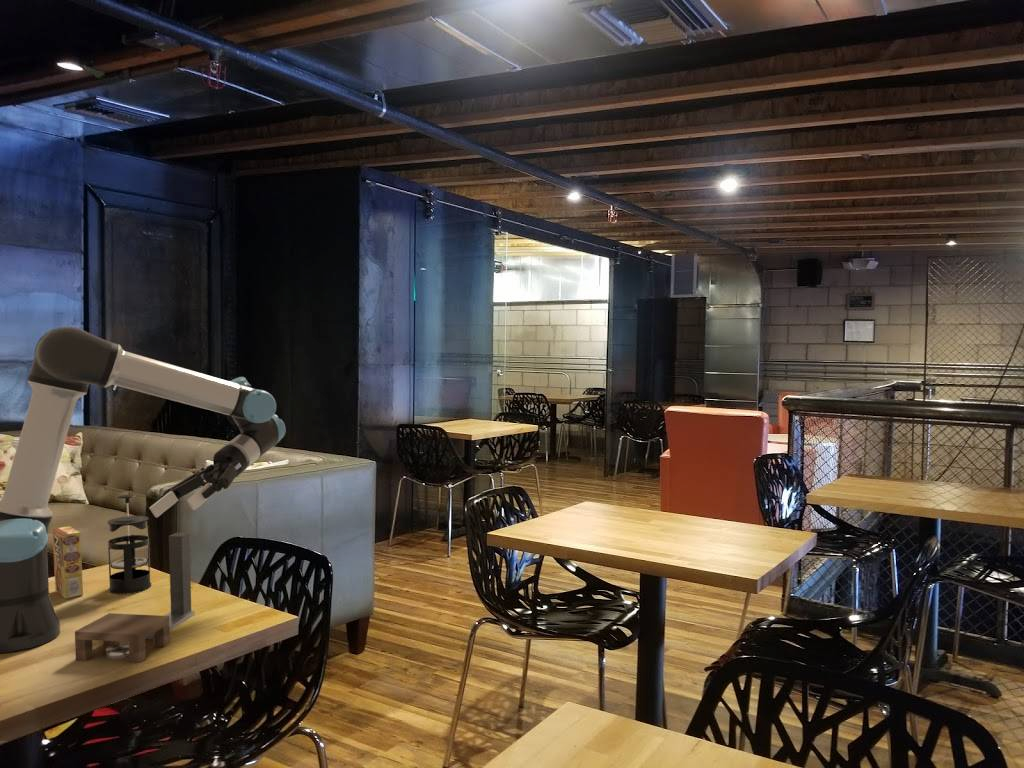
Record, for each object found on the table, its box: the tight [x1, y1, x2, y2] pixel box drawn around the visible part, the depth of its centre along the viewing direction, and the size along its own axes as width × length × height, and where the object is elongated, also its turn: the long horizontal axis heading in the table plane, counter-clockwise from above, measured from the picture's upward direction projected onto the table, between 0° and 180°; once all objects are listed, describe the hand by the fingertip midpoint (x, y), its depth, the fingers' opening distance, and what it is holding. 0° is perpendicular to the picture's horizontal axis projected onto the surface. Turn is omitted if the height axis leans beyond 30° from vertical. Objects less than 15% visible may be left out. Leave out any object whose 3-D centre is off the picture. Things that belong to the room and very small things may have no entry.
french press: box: [106, 493, 152, 595], centre depth 191 cm, size 12×9×23 cm
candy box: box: [51, 526, 84, 600], centre depth 187 cm, size 9×4×15 cm, turn 44°
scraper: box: [145, 532, 195, 640], centre depth 166 cm, size 6×15×18 cm, turn 172°
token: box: [105, 642, 129, 660], centre depth 151 cm, size 5×5×2 cm
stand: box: [74, 612, 171, 664], centre depth 152 cm, size 13×10×6 cm
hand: (171, 509), depth 172 cm, fingers open, 13 cm apart
